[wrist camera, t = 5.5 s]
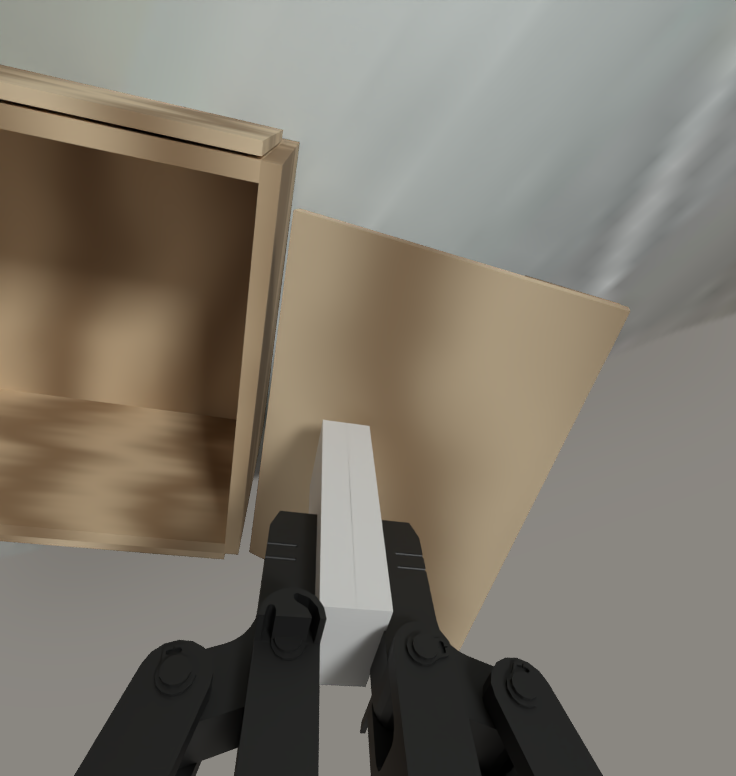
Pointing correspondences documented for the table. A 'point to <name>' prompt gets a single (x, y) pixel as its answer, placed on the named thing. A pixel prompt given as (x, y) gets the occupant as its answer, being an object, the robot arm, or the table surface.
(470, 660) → the robot arm
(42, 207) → the carton
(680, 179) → the table surface
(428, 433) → the flap
